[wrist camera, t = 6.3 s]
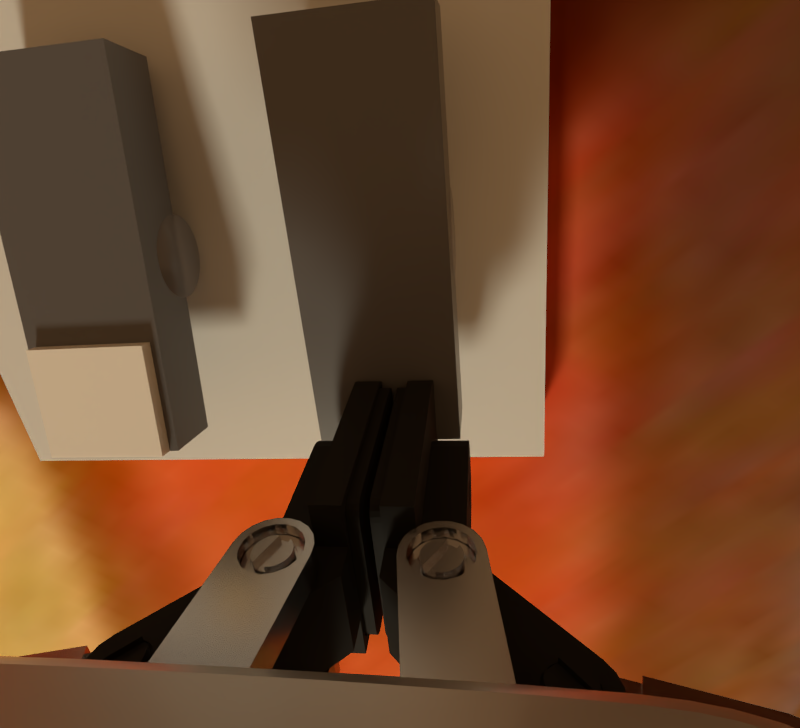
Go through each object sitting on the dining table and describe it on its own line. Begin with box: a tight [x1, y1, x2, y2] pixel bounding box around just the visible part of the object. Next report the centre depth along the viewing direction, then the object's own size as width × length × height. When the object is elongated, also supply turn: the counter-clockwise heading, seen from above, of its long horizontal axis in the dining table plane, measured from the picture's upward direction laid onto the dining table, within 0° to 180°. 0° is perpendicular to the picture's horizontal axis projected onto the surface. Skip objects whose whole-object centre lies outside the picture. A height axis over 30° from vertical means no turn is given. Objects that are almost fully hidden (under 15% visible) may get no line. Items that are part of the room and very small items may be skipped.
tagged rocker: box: [0, 38, 208, 458], centre depth 13 cm, size 8×3×3 cm, turn 6°
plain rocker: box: [251, 0, 462, 441], centre depth 12 cm, size 8×3×2 cm, turn 6°
